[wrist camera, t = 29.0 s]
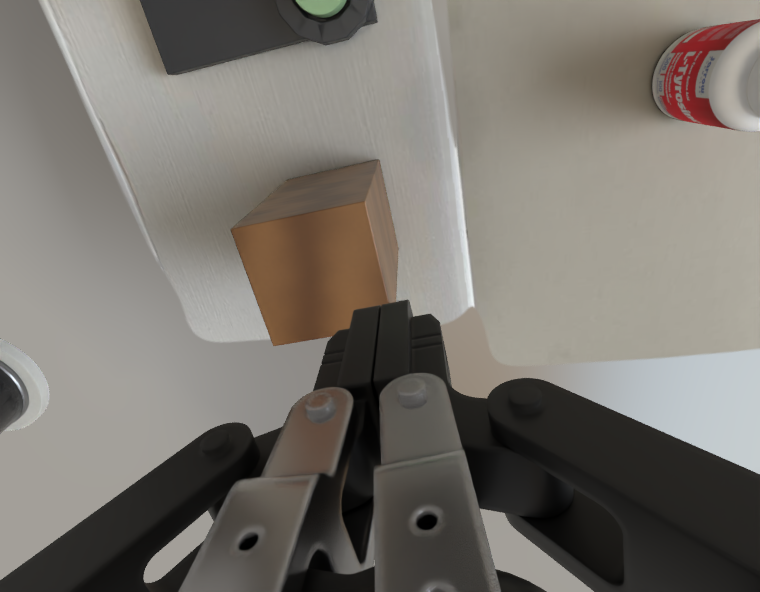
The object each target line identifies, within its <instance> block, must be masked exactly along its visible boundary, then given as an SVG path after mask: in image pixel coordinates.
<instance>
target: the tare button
mask: <svg viewBox="0 0 760 592" xmlns="http://www.w3.org/2000/svg"><path fill="white" fill-rule="evenodd" d="M295 1H296V2H297V3H298V5H299V6H300V7H301V8H302V9H304V10H305V11H307V12H308V13H310V14H311V15H313V16H316V17H320V18H327V17H331V16H333V15H335V14H337V13H338V12H339V11H340V10H341V9H342V8H343V7H344V5H345V3H346V1H347V0H295Z"/></svg>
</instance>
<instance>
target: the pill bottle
mask: <svg viewBox="0 0 760 592" xmlns="http://www.w3.org/2000/svg"><path fill="white" fill-rule="evenodd" d="M652 89H653V96H654V99H655V102H656V104H657V106H658V107H659V108H660V110H661V111H662V112H663V113H665V114H666V115H668V116H669V117H672V118H674V119H678V120H682V121H687V122H693V123H698V124H704V125H710V126H716V127H721V128H727V129H732V130H738V131H748V132H755V131H760V19H758V20H751V21H743V22H736V23H730V24H723V25H716V26H709V27H704V28H700V29H696V30H693V31H691V32H689V33H687V34H685V35H683V36H682V37H680V38H679V39H677V40H676V41H675V42H674V43H673V44H672V45H671V46H670V47H669V48H668V49H667V50H666V51H665V52H664V54H663V55H662V57H661V58H660V60H659V62H658V64H657V66H656V69H655V72H654V75H653V82H652Z"/></svg>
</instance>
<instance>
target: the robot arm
mask: <svg viewBox="0 0 760 592" xmlns="http://www.w3.org/2000/svg"><path fill="white" fill-rule="evenodd" d="M324 354H325V355H324V356H323V360H322V365H321V366H320V370H319V373H318V377H317V380H316V383H315V386H314V390H313V392H311V393H309V394H307V395H305V396H303V397H302V398H301V399H300V400H298V401H297V402H296V403H295V404H294V405H293V407H292V408H291V410H290V412H289V414H288V416H287V419H286V421H285V423H284V425H283V427H281V428H278V429H276V430H273V431H271V432H268V433H266V434H263V435H260V436H258V437H255V438H254V437H253V435H252V432H251V430H250V428H249V427H248V426H247V425H245V424H243V423H227V424H223V425H220V426H217V427H215V428H212V429H210V430H209V431H207V432H205V433H204V434H202V435H201V436H199V437H198V438H196V439H195V440H194V441H192V442H191V443H190V444H188V445H187V446H185V447H184V448H183V449H181V450H180V451H179V452H177V453H176V454H174V455H173V456H172V457H170V458H169V459H167V460H166V461H165V462H163V463H162V464H160V465H159V466H158V467H156V468H155V469H154V470H152V471H151V472H149V473H148V474H147V475H145V476H144V477H142V478H141V479H140V480H138V481H137V482H136V483H135V484H133V485H131V486H130V487H129V488H127V489H126V490H125V491H123V492H122V493H120V494H119V495H118V496H117V497H115V498H114V499H112V500H111V501H110V502H108V503H107V504H105V505H104V506H102V507H101V508H100V509H98V510H97V511H96V512H94V513H93V514H91V515H90V516H89V517H87V518H86V519H84V520H83V521H82V522H80V523H79V524H78V525H76V526H75V527H74V528H72V529H71V530H69V531H68V532H67V533H65V534H64V535H63V536H61V537H60V538H58V539H57V540H55V541H54V542H53V543H51V544H50V545H49V546H47V547H46V548H44V549H43V550H42V551H40V552H39V553H37V554H36V555H35V556H33V557H32V558H31V559H29V560H28V561H26V562H25V563H24V564H22V565H21V566H20V567H18V568H17V569H15V570H14V571H13V572H11V573H10V574H9V575H7V576H6V577H4V578H3V579H2V580H0V592H546V591H545V590H543V589H541V588H540V587H538V586H536V585H534V584H532V583H531V582H529V581H527V580H524V579H522V578H520V577H517V576H515V575H513V574H510V573H507V572H503V571H500V570H496V569H495V566H494V562H493V559H492V555H491V551H490V547H489V543H488V539H487V536H486V532H485V528H484V524H483V520H482V517H481V513H480V509H479V508H481V509H486V510H492V511H497V512H503V513H505V515H506V517H507V519H508V521H509V523H510V524H511V525H512V526H513V527H514V528H515V529H516V530H517V531H518V532H520V533H521V534H522V535H524V536H525V537H526V538H527V539H529V540H530V541H531V542H532V543H534V544H535V545H536V546H538V547H539V548H540V549H541V550H542V551H544V552H545V553H547V554H548V555H549V556H550V557H551V558H553V559H554V560H555V561H557V562H558V563H559V564H560V565H562V566H563V567H564V568H565V569H567V570H568V571H569V572H570V573H572V574H573V575H574V576H575V577H577V578H578V579H579V580H581V581H582V582H583V583H584V584H586V585H587V586H588V587H590V588H591V589H592V590H593V591H594V592H760V474H757V473H755V472H753V471H751V470H748V469H746V468H744V467H741V466H739V465H737V464H734V463H732V462H730V461H728V460H725V459H723V458H721V457H719V456H716V455H714V454H712V453H709V452H707V451H705V450H703V449H700V448H698V447H696V446H693V445H691V444H689V443H687V442H684V441H682V440H680V439H677V438H675V437H673V436H671V435H668V434H666V433H664V432H661V431H659V430H657V429H655V428H652V427H650V426H648V425H645V424H643V423H641V422H638V421H636V420H634V419H632V418H630V417H627V416H625V415H623V414H620V413H618V412H616V411H614V410H611V409H609V408H607V407H604V406H602V405H600V404H598V403H595V402H593V401H591V400H588V399H586V398H584V397H582V396H579V395H577V394H575V393H572V392H570V391H568V390H566V389H563V388H561V387H559V386H556V385H554V384H552V383H549V382H547V381H544V380H540V379H533V378H521V379H514V380H510V381H507V382H504V383H502V384H500V385H499V386H497V387H496V388H495V389H493V390H492V391H491V393H490V394H489V396H488V398H487V399H485V398H475V397H469V396H466V395H463V394H461V393H459V392H457V391H456V390H454V389H453V388H452V386H451V378H450V372H449V366H448V361H447V356H446V351H445V347H444V341H443V336H442V331H441V327H440V322H439V321H438V320H437V319H436V318H435V317H434V316H432V315H431V314H426V315H420V316H415V317H413V314H412V310H411V306H410V302H409V300H404V301H398V302H393V303H388V304H382V306H381V305H377V306H372V307H367V308H361V309H356V310H354V311H353V315H352V320H351V324H350V328H349V329H344V330H338V331H337V332H336V333H335V334H334V336H333V337H332V338H331V339H330V340H329V341H328V343H327V346H326V349H325V353H324ZM28 405H29V395H28V391H27V389H26V386H25V384H24V383H23V381H22V380H21V378H20V377H19V376H18V375H17V373H16V372H15V371H14V370H13V369H11V368H10V367H9V366H8V365H7V364H5V363H4V362H2V361H1V360H0V434H1V433H2V432H3V431H4V430H5V429H6V428H7V427H9V426H10V425H11V424H12V423H14V422H16V421H17V420H18V419H19V418H20V417H21V416H23V415H24V413H25V412H26V411H27V408H28ZM207 510H208V511H209V513H210V515H211V517H212V519H213V521H214V523H213V525H212V527H211V529H210V531H209V532H208V534H207V536H206V539H205V540H204V541H203V542H202V543H201V544H200V545H199V546H197V547H196V548H195V549H194V550H193V551H192V552H191V553H190V554H188V555H187V556H186V557H185V558H184V559H183V560H182V561H181V562H179V563H178V564H177V565H176V566H175V567H174V568H173V569H172V570H171V571H170V572H168V573H167V574H166V575H165V576H164V577H162V578H161V579H159V580H158V581H155V582H152V583H144V580H143V575H144V570H145V568H146V566H147V564H148V562H149V561H150V560H151V558H152V557H153V556H154V555H155V554H156V553H157V552H159V551H160V550H161V549H162V548H163V547H164V546H166V545H167V544H168V543H169V542H170V541H171V540H173V539H174V538H175V537H176V536H177V535H179V534H180V533H181V532H182V531H183V530H184V529H186V528H187V527H188V526H189V525H190V524H192V523H193V522H194V521H195V520H196V519H198V518H199V517H200V516H201V515H202V514H203V513H204V512H206V511H207ZM374 559H375V566H374ZM373 566H374V567H373Z"/></svg>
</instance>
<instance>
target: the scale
mask: <svg viewBox="0 0 760 592" xmlns="http://www.w3.org/2000/svg"><path fill="white" fill-rule="evenodd" d="M140 2H141V5H142V7H143V10H144V13H145V15H146V18H147V21H148V23H149V26H150V29H151V31H152V34H153V37H154V39H155V42H156V45H157V47H158V50H159V53H160V55H161V58H162V61H163V63H164V66H165V69H166V72H167V74H168V75H179V74H182V73H186V72H190V71H194V70H198V69H201V68H205V67H209V66H213V65H217V64H220V63H224V62H228V61H232V60H236V59H240V58H243V57H247V56H251V55H255V54H259V53H262V52H266V51H270V50H274V49H278V48H281V47H285V46H289V45H293V44H297V43H300V42H304V41H308V40H312V41H315V42H317V43H320V44H323V45H329V44H333V43H337V42H341V41H345V40H349V39H350V38H351V37H352V36H353V35H354V34H355V33H356V32H357V30H358V29H359V28H360V27H361V26H365V25H369V24H373V23H376V22H377V16H376V11H375V6H374V0H347V1H346V3H345V5H344V7H343V8H342V9H341V10H340V11H339V12H338V13H337V14H335V15H333V16H331V17H327V18H320V17H316V16H313V15H311V14H310V13H308V12H307V11H305V10H304V9H302V8H301V7H300V6H299V5H298V3H297V2H296V1H295V0H140Z"/></svg>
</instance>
